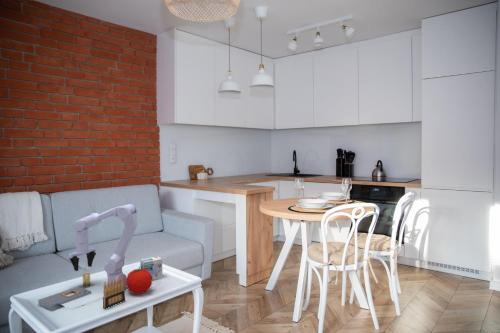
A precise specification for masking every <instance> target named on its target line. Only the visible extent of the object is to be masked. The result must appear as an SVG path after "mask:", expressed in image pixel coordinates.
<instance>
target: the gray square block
mask: <svg viewBox="0 0 500 333" xmlns="http://www.w3.org/2000/svg"><path fill="white" fill-rule="evenodd" d="M94 286H95V284H94V283H91V282H90V286H88V287H83V284H81V285H78V286H77V287H79V288H82V289H85V290H86V289H88V288H91V287H94Z"/></svg>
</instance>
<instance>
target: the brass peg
mask: <svg viewBox="0 0 500 333" xmlns="http://www.w3.org/2000/svg"><path fill="white" fill-rule="evenodd" d="M90 283H91V273H89V272H85V273H83V274H82V285H83V287H88V286H90ZM88 288H89V287H88Z"/></svg>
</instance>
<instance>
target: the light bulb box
mask: <svg viewBox="0 0 500 333" xmlns="http://www.w3.org/2000/svg"><path fill="white" fill-rule="evenodd" d="M139 263H140V265H139V267H140V269H146V270H147V271H149V273H150V274H151V276H152V281H155V280H159V279H163V258H162V257H160V256H159V255H157V256H154V257H153V256H151V257H148V258H141V259H140V260H139Z"/></svg>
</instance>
